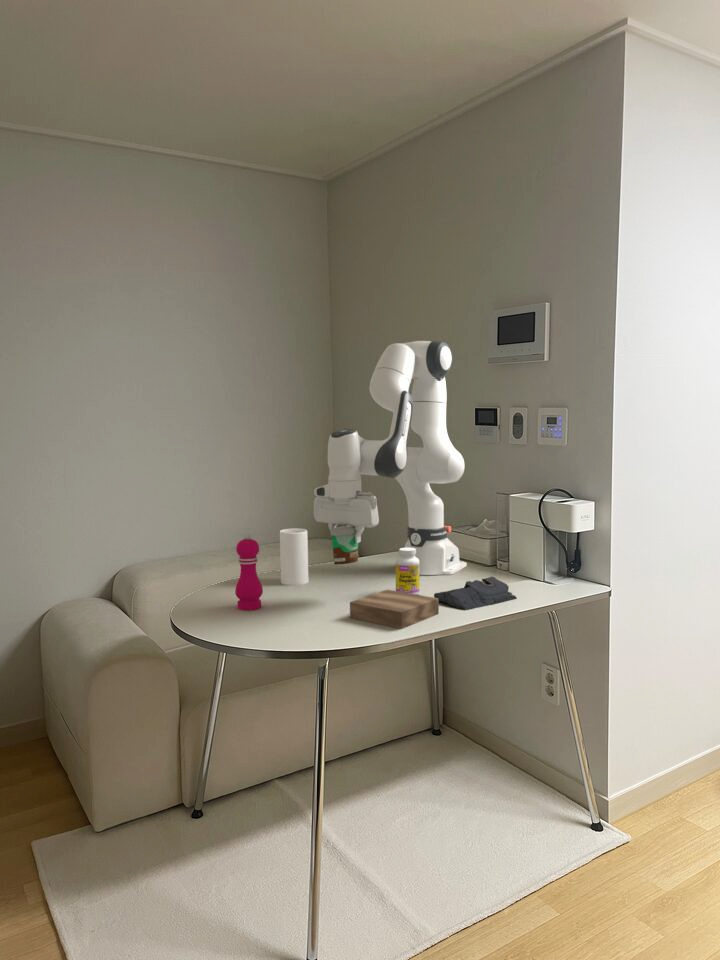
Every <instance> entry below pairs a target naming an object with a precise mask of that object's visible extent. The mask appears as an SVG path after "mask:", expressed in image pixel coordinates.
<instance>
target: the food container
mask: <svg viewBox="0 0 720 960" xmlns="http://www.w3.org/2000/svg"><path fill="white" fill-rule="evenodd" d="M356 532H357V530H355V526H350V525H342V526H336V527H333V528H331V531H330V536H331V544H332V546H331V547H332V554H333V563H334V566H335V565H348V564H353V563H357V562H358V561H359V543H356V542H354V536H355V534H356Z"/></svg>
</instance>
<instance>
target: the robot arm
mask: <svg viewBox="0 0 720 960" xmlns="http://www.w3.org/2000/svg"><path fill="white" fill-rule="evenodd" d="M452 364H453V354H452V350H451V348H450V346H449V345H448V343H446V342H444V341H441V340H440V341H439V340H431V341H429V340H415V341H410V342H409V341H408V342H403V343H401V342H400V343H399V342H398V343H397V342H396V343H392V344H389V345H388V346H386V348H385V350H384V351H383V353H382V354H381V355H380V357H379V359H378V362H377V363H376V366H375V369H374V371H373V373H372V376H371V378H370V382H369V390H368V391H369V393H370V396H371V398H372V400H374V402H375V403H376V404H378V405H379V407H381V408H383V409H384V410H387V411H389V412H392V414H393V415H392V418H391V425H390V431H389V435H388V437H387V438H385V439H383V440H382V439H381V440H374V439H373V440H371V439H366V438H363V437H362V436H360V435H359V433H358V431H357V429H354V428H344V429H337V430H335V431H333V432H332V433H330V435H329V438H328V442H327V465H328V466H327V467H328V468H329V470H328V471H329V473H328V482H327V484H324V485H321V486H318V487H316V488H314V490H313V493H314V496H315V497H314V499H313V518H314V520H315V521H316V522H318V523H325V524H327V525H328V529H329V531H330V532H331V528H333V527H338V525H342V526H344V525H350V526H355V530H357V532H356V534H355V536H354V542H356V543H358V544H359V543H361V541H362V535H363V532H364V531H365V528H369V529H370V528H374V527H377V526H378V525H379V523H380V517H379V509H378V504H377V502H378V501H377V497H376V495H374V494H373V493H372V492H371V491H362V475H364V476H365V475H366V476H375V477H376V476H378V477H384V478H389V479H395V480H396V481H397V482H398V484H399V485H400V487H401V488H402V490H403V492H404V495H405V497H406V504H407V512H408V513H407V514H408V515H407V517H408V525H407V528H406V534H407V536H406V538H408V539H407V541H406V542H405V545H404V548H406V547H409V548H415V549H416V554H415V557H416V558H418V559H419V576H439V575H440V576H441V575H446V576H447V575H448V576H449V575H453V574H455V573H457V572H459V571H461V570H463V568H465V567H467V566H468V563H467V562H466V561H463V560H460V550H459V548H458V546H456V545H455V544H454V542H453V541H451V540H450V539H449V538H448V534H447V533H451V532H452V527H451V526H450V525H448V526H447V525H445V512H444V511H445V506H444V502H443V500H442V499H441V497H440V496H438V495H436V494H435V493H434V491H433V490H432V488H431V486H430V484H440V485H441V484H442V485H443V484H451V483H456V482H458V481H459V480H461V478H462V476H463V475H464V473H465V468H466V467H465V460H464V457H463V454H461V452H460V451H458V450H457V449H456V447H454V445H453V443H452V442H451V440H450V438H449V434H448V429H447V402H448V401H447V400H448V399H447V397H448V395H447V394H448V393H447V392H448V391H447V384H446V376H447V374H448V372H449V371H450V369H451V367H452ZM412 379H413V384H412V389H411V393H409V389H410V385H411V383H412ZM411 430H412V431H413V432H414V433H415V434H417V435H418V436H419V437H420V438H421V441H422V444H423V445H422V446H423V447H415V446H408V445H409V440H410V433H411Z"/></svg>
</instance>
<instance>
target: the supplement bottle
mask: <svg viewBox="0 0 720 960" xmlns="http://www.w3.org/2000/svg"><path fill="white" fill-rule="evenodd" d="M398 553H399V556H398V557H397V558H396V559H395V591H399V592H405V593H411V594H417V595H420V575H419V559H418V558H416V557H415V554H416V549H415V548H409V547H406V548H405V547H401V548H399V550H398Z"/></svg>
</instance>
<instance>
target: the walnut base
mask: <svg viewBox="0 0 720 960" xmlns="http://www.w3.org/2000/svg"><path fill="white" fill-rule="evenodd" d="M439 602H440V601H439V598H434V596H432V597H431V596H427V595H422V594H418V595H417V594H411V593H405V592H399V591H396V590H393V589H385V590H382V591H379V592H376V593H373V594H370V595H366V596H365V597H361V598H358V599H355V600H352V601H350V602H349V618H351V619H353V620H359V621H364V622H368V623H371V624H372V623H373V624H378V625H383V626H388V627H392V628H397V629H402V630H403V629H405V628H408V627H410V626H413V625H415V624H418V623H420V622H423V621H424V620H427V619H429V618H431V617H434V616H436V615H439V610H440V607H439V606H440V605H439V604H440V603H439Z"/></svg>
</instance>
